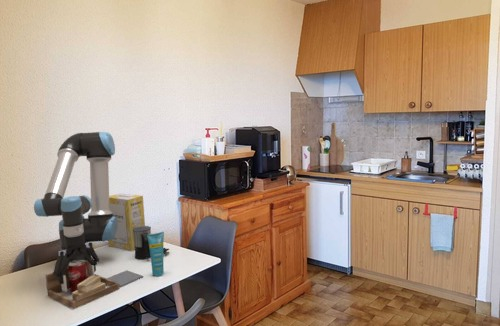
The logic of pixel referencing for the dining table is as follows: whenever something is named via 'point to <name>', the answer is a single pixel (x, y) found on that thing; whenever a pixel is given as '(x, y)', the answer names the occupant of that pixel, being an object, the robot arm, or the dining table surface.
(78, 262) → the soda can
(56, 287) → the wooden tray frame
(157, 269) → the tube
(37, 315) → the dining table surface
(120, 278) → the plate
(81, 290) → the top offcut
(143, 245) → the milk frother
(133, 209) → the pasta box
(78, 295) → the bottom offcut
